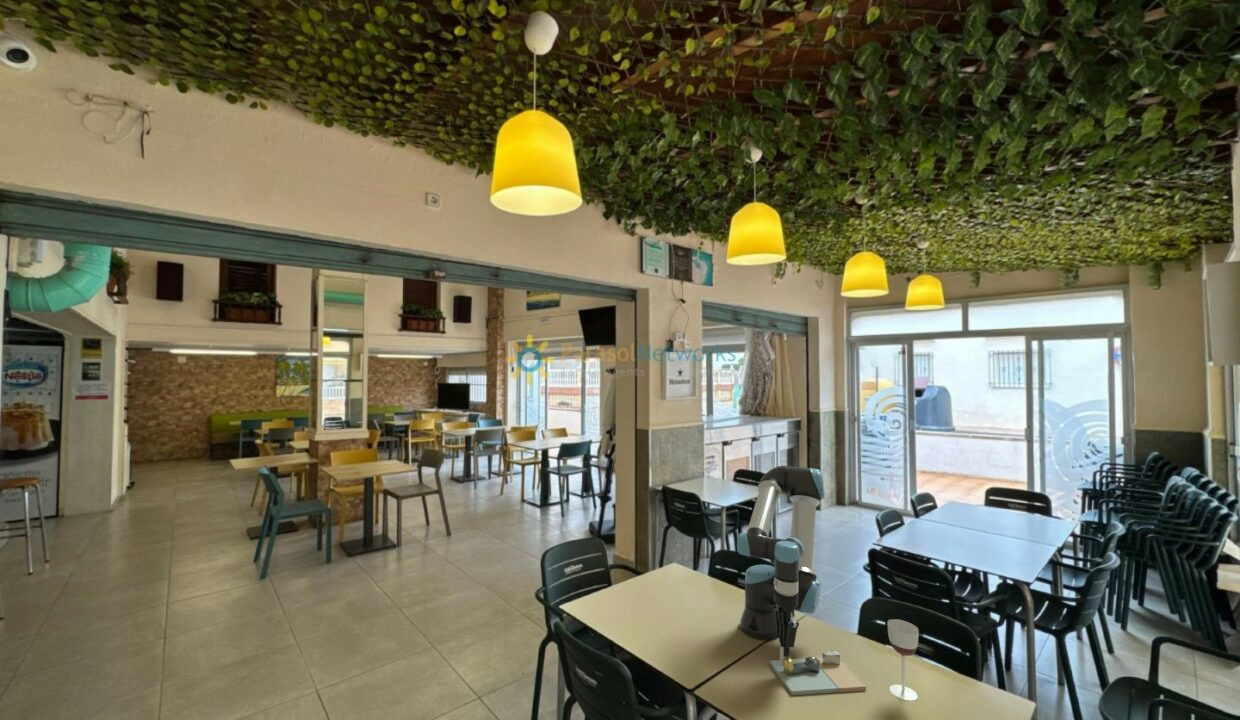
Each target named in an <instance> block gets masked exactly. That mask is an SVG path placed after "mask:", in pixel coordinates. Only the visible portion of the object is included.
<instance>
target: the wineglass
mask: <svg viewBox="0 0 1240 720" xmlns="http://www.w3.org/2000/svg"><path fill="white" fill-rule="evenodd" d="M887 634H888V640H889V643H890V645H891V647H892V648H893V650H894V651H895V652H897V653H898V654H900V656H901V684H892V685H890V686H889V687H888V688H889V689H888V690H889V691H890V693H891V694H893V696H895V697H896V698H899V699H902V700H904V701H910V702H911V701H915V700H917V699H918V694H917V692H916V691H914V689H912V688H910V687H908V686H906V685H905V684H906V683H905V678H906V677H905V675H906V673H905V671H906V670H905V667H906V666H905V663H906V662H905V661H906V659H905V656H906V657H908V656H912V655H914V654H915V653H916V652H917V649H918V645H919V636H920V635H919V634H920V632H919V627H917V626H916V625H915V624H913V623H910V622H908V621H906V620H903V619H897V618H896V619H888V620H887Z"/></svg>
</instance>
